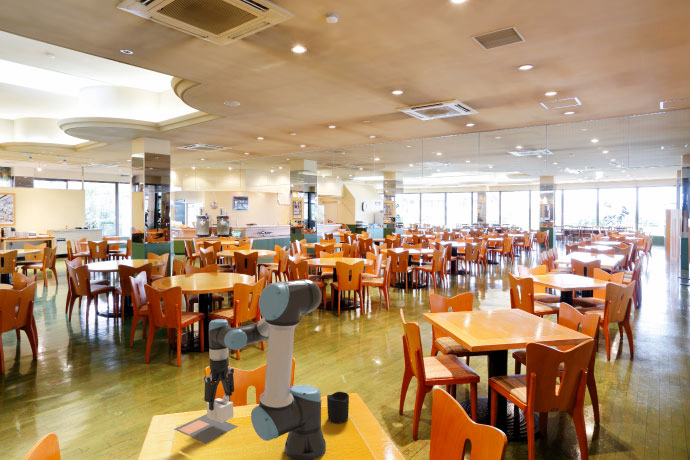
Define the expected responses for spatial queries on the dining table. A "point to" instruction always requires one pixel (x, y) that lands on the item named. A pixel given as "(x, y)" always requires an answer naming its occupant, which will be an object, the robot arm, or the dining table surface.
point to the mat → (205, 428)
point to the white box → (222, 410)
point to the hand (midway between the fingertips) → (220, 414)
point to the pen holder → (338, 407)
